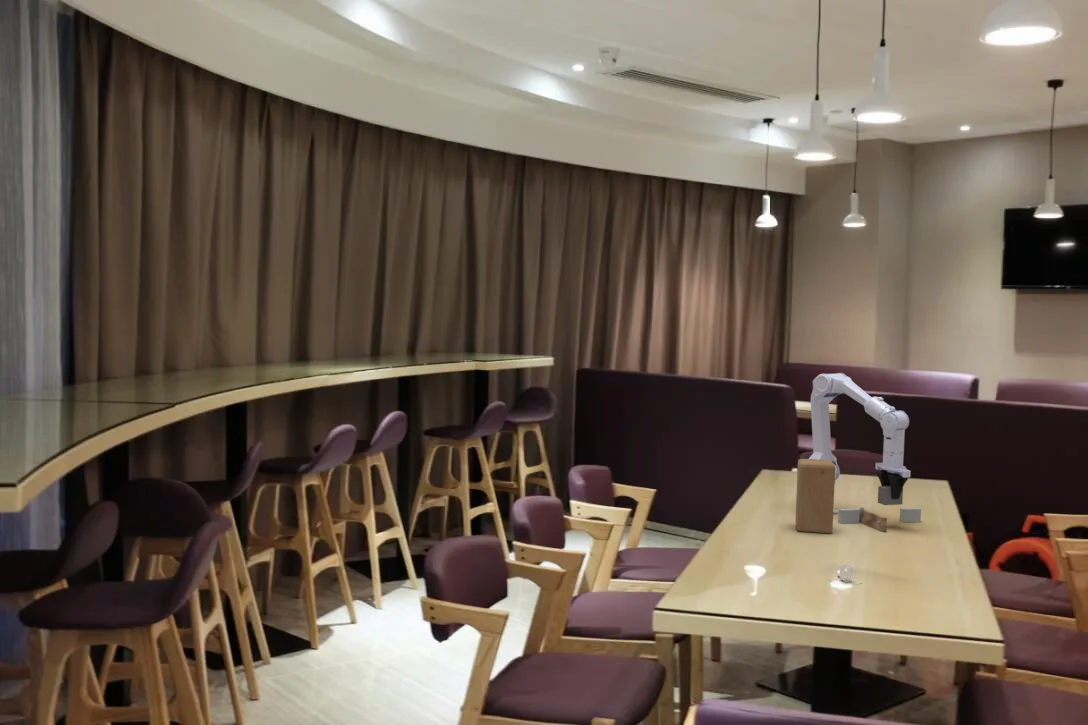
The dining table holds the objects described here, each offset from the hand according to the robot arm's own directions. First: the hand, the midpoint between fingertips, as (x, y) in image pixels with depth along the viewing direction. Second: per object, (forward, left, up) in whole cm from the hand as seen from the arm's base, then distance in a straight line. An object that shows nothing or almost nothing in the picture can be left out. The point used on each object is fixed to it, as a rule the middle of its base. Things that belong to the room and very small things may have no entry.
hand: (891, 497), depth 298 cm
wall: (0, +6, -9) cm, 11 cm away
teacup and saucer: (-38, -52, -10) cm, 65 cm away
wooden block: (-25, -1, -9) cm, 26 cm away
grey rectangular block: (0, 0, -2) cm, 2 cm away
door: (-6, 0, -9) cm, 11 cm away
